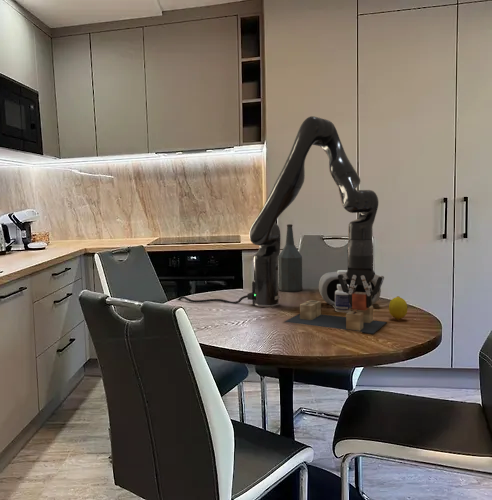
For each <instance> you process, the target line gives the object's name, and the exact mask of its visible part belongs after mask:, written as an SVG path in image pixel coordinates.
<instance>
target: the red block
mask: <svg viewBox="0 0 492 500" xmlns="http://www.w3.org/2000/svg"><path fill="white" fill-rule="evenodd" d="M366 296H367V294H366V293H365V292H355V293H353V294H352V308H351V310H356V311H357V310H367V309H368V308H366Z"/></svg>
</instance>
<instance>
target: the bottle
mask: <svg viewBox="0 0 492 500" xmlns="http://www.w3.org/2000/svg"><path fill="white" fill-rule="evenodd" d="M285 237H286V238H285V245H284V246H283V248H282V250H281V251H280V254H279V257H278V291H280V292H284V293H299V292H301V291H303V256H302V255H301V253H300V251H299V250H298V248H297V247H296V245H295V237H294V231H293V224H292V223H291V224H290V223H289V224H286V236H285Z"/></svg>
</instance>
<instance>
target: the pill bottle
mask: <svg viewBox="0 0 492 500" xmlns="http://www.w3.org/2000/svg"><path fill="white" fill-rule="evenodd" d="M348 288H349V285H348ZM337 289H338V290H336V291H335V308H334V311H335V312H339V313H345V314H346V313H348V312H350V311H352V308H351V304H349V294H348V293H346V292H343V290H342V287H341V285H340V284H337Z"/></svg>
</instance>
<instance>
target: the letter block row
mask: <svg viewBox="0 0 492 500" xmlns="http://www.w3.org/2000/svg"><path fill="white" fill-rule="evenodd" d="M345 317H346V329H349V330H348V331H351V330H356V331H355V332H359V331H360V330H361V329H363V322H364V323H371V322H372V321H373V320H374V305H371V306H370V307H369V308H368V309H367V310H356V311H354V310H351V311H350V312H346V313H345Z"/></svg>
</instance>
